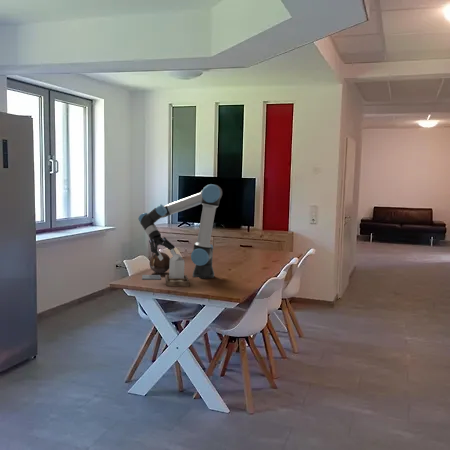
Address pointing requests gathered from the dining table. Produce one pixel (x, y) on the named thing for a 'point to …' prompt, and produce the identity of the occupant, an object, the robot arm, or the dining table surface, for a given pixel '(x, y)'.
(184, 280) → the walnut rack
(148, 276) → the slate tile
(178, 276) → the milk carton
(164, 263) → the wooden sphere
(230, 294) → the dining table surface
